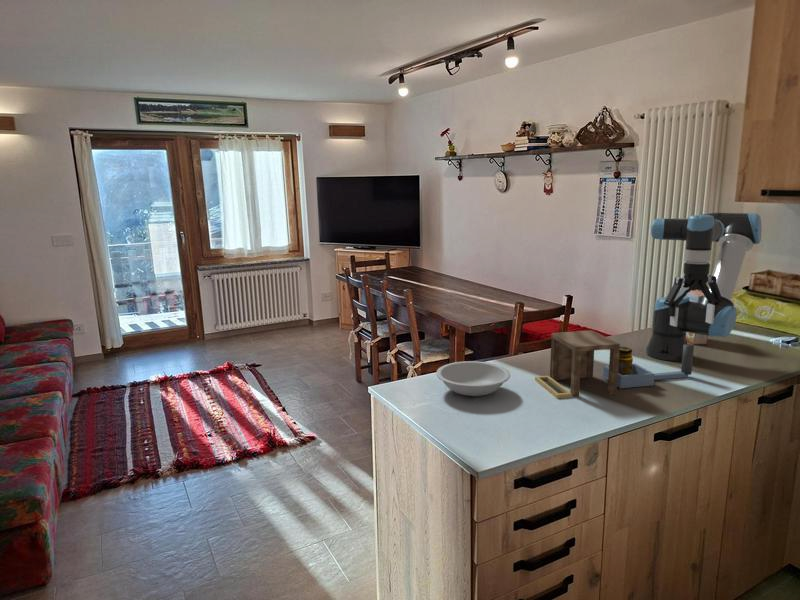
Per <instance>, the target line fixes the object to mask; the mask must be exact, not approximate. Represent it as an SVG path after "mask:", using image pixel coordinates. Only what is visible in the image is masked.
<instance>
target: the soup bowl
mask: <svg viewBox="0 0 800 600" xmlns="http://www.w3.org/2000/svg"><path fill="white" fill-rule="evenodd" d="M435 374H436V377H437V379H439V380H440V381H442V382H443V384H444V385H445V386H446V387H447V388H448V389H449V390H450V391H452V392H454V393H456V394H459V395H462V396H469V397H480V396H487V395H490V394H492V393H494V392H495V391H497V390H499V389H500V388H501V387H502V386H503V384H504V383H506V382H507V381H509V379H510V378H511V372H510V370H508V368H505V367H504V366H501V365H499V364H496V363H490V362H487V361H486V362H485V361H477V360H476V361H473V360H469V361H468V360H467V361H455V362H451V363H447V364H444V365H442V366H440V367H439V368H437V370H436V373H435Z"/></svg>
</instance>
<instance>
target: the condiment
mask: <svg viewBox="0 0 800 600" xmlns="http://www.w3.org/2000/svg"><path fill="white" fill-rule="evenodd" d="M633 359H634V358H633V349H632V348H631V347H626V346H620V350H619V365H618V373H619V374H621V375H632V364H633V362H634V360H633ZM602 382H603V383H604V384H607V385H608V380H607V379H606V380H603V381H602Z"/></svg>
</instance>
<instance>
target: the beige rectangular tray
mask: <svg viewBox="0 0 800 600" xmlns="http://www.w3.org/2000/svg"><path fill="white" fill-rule="evenodd" d="M534 381H535V382H537V383H538V384H539V385H540V386H541V387H542V388H543V389H545V390H546V391H547V392H548V393H550V394H551V395H552V396H553V397H554V398H555V399H566V398H567V397H568V398H573V397H572V393H570V390H569V389H566V388H565V387H564V386H562V385H561V384H560V383H559V382H558V381H557V380H556V381H555V380H554V379H552V378H551V377H550V375H542V376H541V375H539V376H538V375H537V376H534Z"/></svg>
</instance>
